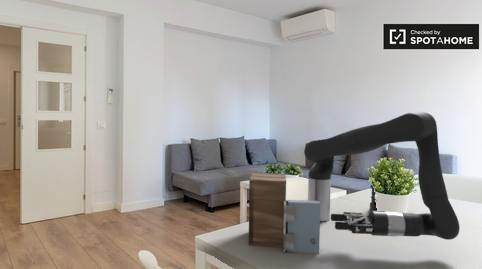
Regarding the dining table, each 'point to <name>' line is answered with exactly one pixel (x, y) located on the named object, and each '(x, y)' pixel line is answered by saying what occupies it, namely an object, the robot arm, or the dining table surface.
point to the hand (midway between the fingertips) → (332, 221)
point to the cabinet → (269, 211)
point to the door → (305, 226)
